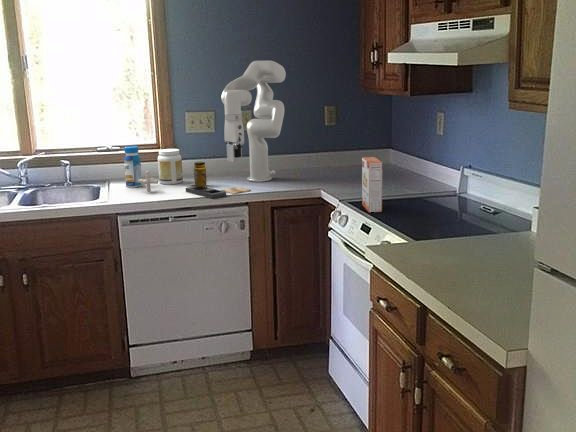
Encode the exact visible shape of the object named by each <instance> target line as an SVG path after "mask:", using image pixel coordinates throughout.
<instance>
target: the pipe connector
mask: <svg viewBox="0 0 576 432" xmlns="http://www.w3.org/2000/svg"><path fill="white" fill-rule="evenodd" d="M150 175H151V174H150V171H149V170H145V179H139V180H138V183H141V184H142V186H144V185H146V192H147V193H150V192H151V191H152V190H151V189H152V188H151V185H152V184H154V185H155V184H158V183H159V179H158V180H157V179H156V178H155V177H151V176H150ZM150 177H151V178H150Z"/></svg>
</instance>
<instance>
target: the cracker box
mask: <svg viewBox="0 0 576 432" xmlns="http://www.w3.org/2000/svg"><path fill="white" fill-rule="evenodd" d="M361 189H362V190H361V201H362V202H361V205H362V206H363V208H364V209H365V210H366V211H367V212H368V213H369V214H372V213H371V212H374V213H382V212H383V161H381V160H380V159H378V158H377V157H375V156H364V157H363V156H362V158H361Z"/></svg>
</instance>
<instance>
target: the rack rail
mask: <svg viewBox="0 0 576 432" xmlns="http://www.w3.org/2000/svg"><path fill="white" fill-rule="evenodd" d="M221 190H222V189H216V188H211V187H209V186H205V187H204V186H194V187H190V186H188V187H185V193H188V194H192V195H197V196H199V197H203V198H208V199H219V198H224V197H227V192H225V191H221Z"/></svg>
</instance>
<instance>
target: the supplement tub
mask: <svg viewBox="0 0 576 432" xmlns="http://www.w3.org/2000/svg"><path fill="white" fill-rule="evenodd" d="M182 161H183V160H182V156H181V154H180V149H179V148H165V149H164V148H163V149H160V150H158V156H157V168H158V169H157V170H158V183H160V184H162V185H178V184H181V183H182V182H183V181H184V175H183V162H182Z"/></svg>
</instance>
